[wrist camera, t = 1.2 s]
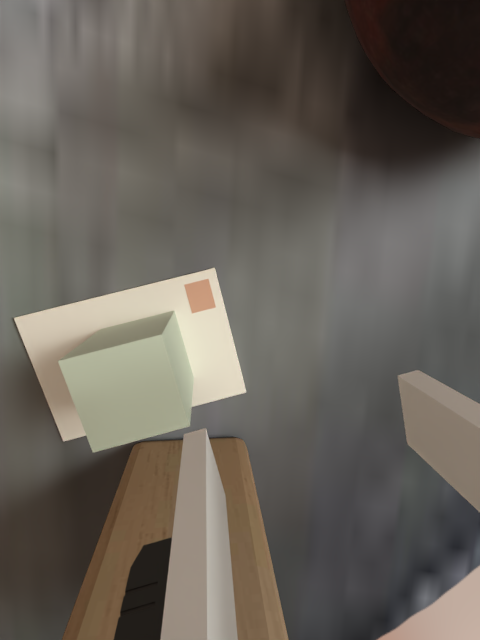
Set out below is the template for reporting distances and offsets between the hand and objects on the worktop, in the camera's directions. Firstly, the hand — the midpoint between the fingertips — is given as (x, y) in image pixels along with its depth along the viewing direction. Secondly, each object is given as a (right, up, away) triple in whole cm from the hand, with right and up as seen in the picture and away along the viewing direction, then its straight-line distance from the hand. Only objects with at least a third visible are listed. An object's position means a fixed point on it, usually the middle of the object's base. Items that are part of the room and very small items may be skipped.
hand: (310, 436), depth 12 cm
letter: (-11, +1, +16) cm, 19 cm away
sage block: (-10, +1, +16) cm, 19 cm away
